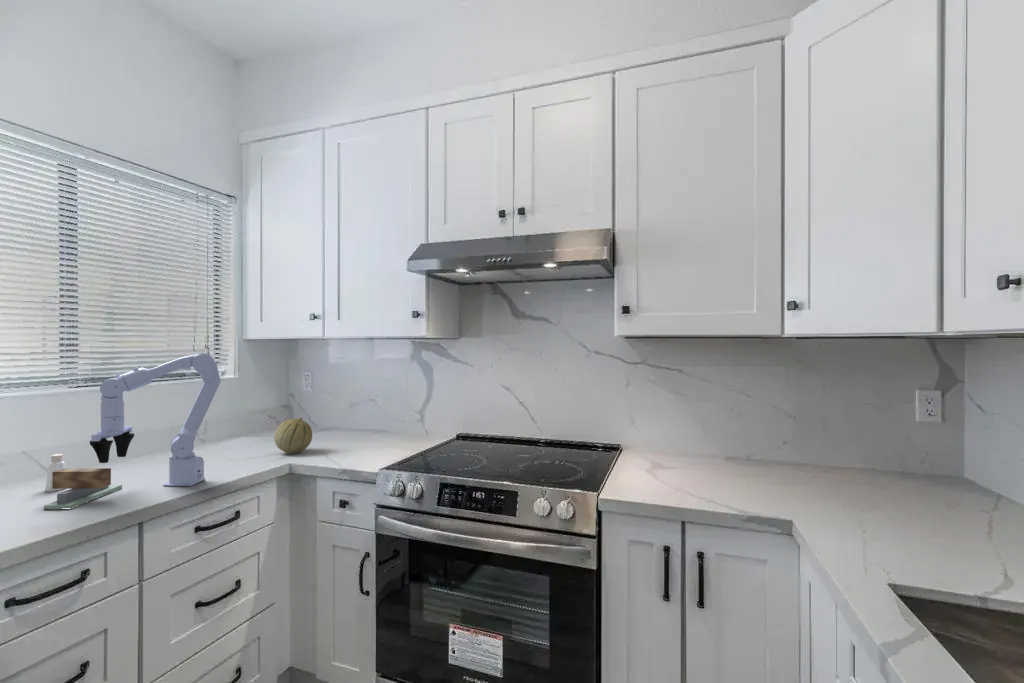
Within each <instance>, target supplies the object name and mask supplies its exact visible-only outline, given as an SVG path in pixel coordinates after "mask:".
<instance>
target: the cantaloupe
mask: <svg viewBox="0 0 1024 683" xmlns="http://www.w3.org/2000/svg"><path fill="white" fill-rule="evenodd" d="M273 436H274V444H275V446H276V447H277V448H278V449H279V450H280V451H282V452H284V453H287V454H291V453H293V454H300V453H302V452H303V451H305V450H306V449H307V448H308V447H309V446H310V444H311V442H312V440H313V430H312V427H311V426H310V424H309V422H306V421H304V420H303V417H300V418H289V419H287V420H285V421H283V422H282V423H280V425H278V426H277V428H276V430H275V432H274V435H273ZM301 451H302V452H301Z"/></svg>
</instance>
